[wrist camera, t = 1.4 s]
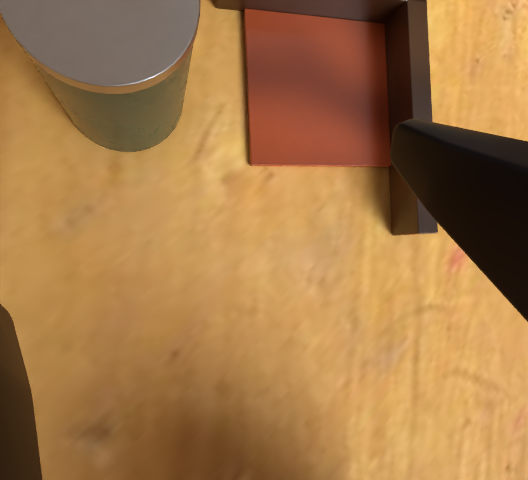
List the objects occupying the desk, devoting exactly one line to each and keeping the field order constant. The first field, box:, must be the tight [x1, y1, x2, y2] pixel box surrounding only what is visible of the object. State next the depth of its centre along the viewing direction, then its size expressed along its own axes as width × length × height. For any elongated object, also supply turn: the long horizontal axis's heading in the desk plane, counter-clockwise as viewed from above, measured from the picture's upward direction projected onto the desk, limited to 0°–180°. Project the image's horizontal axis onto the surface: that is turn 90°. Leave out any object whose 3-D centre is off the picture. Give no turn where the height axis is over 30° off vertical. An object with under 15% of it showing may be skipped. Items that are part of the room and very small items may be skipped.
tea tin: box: [0, 0, 200, 152], centre depth 16 cm, size 6×6×8 cm
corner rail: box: [215, 0, 438, 235], centre depth 21 cm, size 14×11×2 cm
